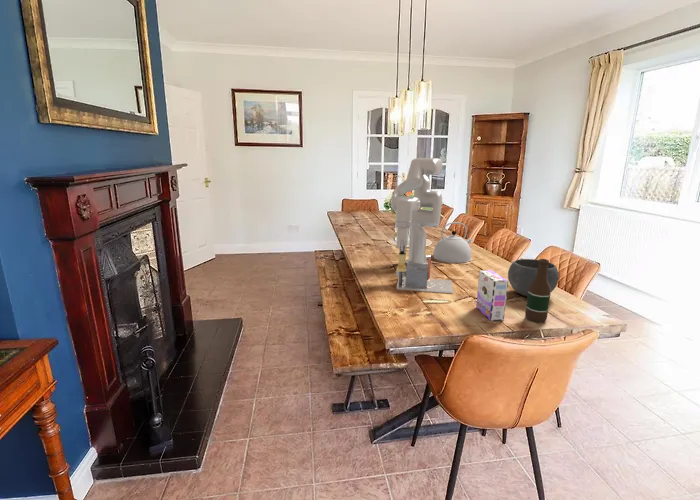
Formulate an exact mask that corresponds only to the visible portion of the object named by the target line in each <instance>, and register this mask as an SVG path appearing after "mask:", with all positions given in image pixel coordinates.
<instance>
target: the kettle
mask: <svg viewBox="0 0 700 500" xmlns="http://www.w3.org/2000/svg"><path fill="white" fill-rule="evenodd" d="M453 224H454V225H455V224H457V225H458V224H459V225H462V226H464V228H465V234H464V235H463V238H462V237H461V236H458V235H456V234H457V232H456V230H452V231H451V235H447V236H445V237H444V236H443V232H444V229H446V227H448V226H450V225H453ZM467 234H468V227H467V226H466V224H464V223H463V222H459V221H452V222H448V223H447V224H445V225H444V226H443V227H442V229H441V233H440V235H441V236H440V237H441V239H440V240H439V241H437V243H436V245H435V247H434V249H433V259H435V260H437V261H440V262H443V263H452V264H462V263H468V262H471V261H472V249H471V247H470V244H471V243H472V241H473V239H472V238H468V239H466V240H465V238H466V237H467Z"/></svg>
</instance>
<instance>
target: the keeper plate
mask: <svg viewBox="0 0 700 500" xmlns="http://www.w3.org/2000/svg"><path fill="white" fill-rule="evenodd" d="M406 267H407V265H406V258H405V254H399V253H398V264H397V267H396V270H397V271H400V272H405V271H406Z"/></svg>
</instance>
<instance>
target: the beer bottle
mask: <svg viewBox="0 0 700 500" xmlns="http://www.w3.org/2000/svg"><path fill="white" fill-rule="evenodd" d="M538 260H539V261H538V263H539V265H538V269H537V274H536V278H535V280H534V281H533V282H532V283H531V285H530V287H529V290H528V296H526V299H527V300H526V305H525V313H524V314H525V315H524V318H526V319H527V320H528V322H533V323H536V324H539V323H543V324H544V323H545V322H546V321H547V320H548V319H547V318H548V315H549V308H550V302H551V301H550V299H551V293H552V292H551V288H550V284H549V283H548V281H547V272H548V264H549V263H550V260H549V259H547V258H540V259H538Z"/></svg>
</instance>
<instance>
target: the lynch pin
mask: <svg viewBox="0 0 700 500" xmlns="http://www.w3.org/2000/svg"><path fill="white" fill-rule="evenodd" d="M431 262H432V258H431V257H428V259H427V264H428V276H427V281H430V279H431V278H430V277H431V264H432V263H431ZM399 272H400V271H397V269H396V270H395V277H398V278H399ZM402 277H406V270H405V272H402Z"/></svg>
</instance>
